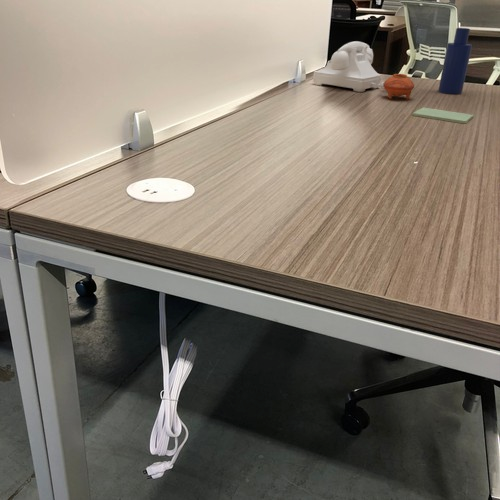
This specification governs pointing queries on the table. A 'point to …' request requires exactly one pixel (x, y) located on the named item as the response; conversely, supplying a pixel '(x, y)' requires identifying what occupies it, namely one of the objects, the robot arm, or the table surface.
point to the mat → (443, 115)
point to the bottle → (455, 63)
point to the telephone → (350, 68)
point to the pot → (398, 85)
